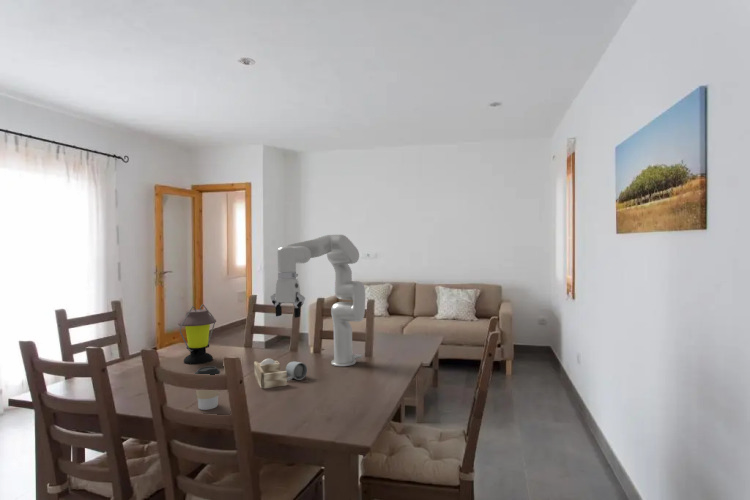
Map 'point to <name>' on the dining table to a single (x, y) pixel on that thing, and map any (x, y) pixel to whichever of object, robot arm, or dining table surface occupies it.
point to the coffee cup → (207, 397)
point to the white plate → (267, 362)
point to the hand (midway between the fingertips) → (287, 316)
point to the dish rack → (269, 375)
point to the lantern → (197, 335)
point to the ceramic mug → (296, 370)
